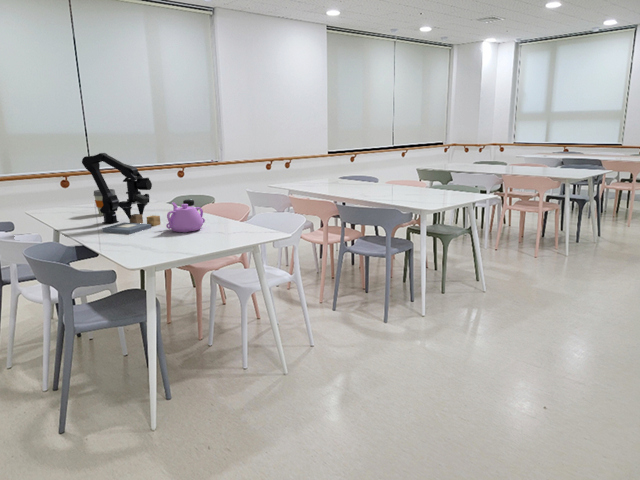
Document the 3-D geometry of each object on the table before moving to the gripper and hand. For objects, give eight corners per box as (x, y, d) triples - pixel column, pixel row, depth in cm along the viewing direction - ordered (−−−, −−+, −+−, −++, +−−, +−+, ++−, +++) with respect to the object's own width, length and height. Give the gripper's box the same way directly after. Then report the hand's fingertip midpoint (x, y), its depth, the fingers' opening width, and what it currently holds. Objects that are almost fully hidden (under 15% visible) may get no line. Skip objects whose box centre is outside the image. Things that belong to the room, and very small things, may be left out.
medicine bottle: (193, 221, 281) (191, 200, 279) (181, 221, 283) (179, 200, 280) (198, 219, 288) (196, 198, 286) (187, 218, 290) (185, 198, 287)
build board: (102, 231, 257) (102, 227, 257) (124, 225, 272) (124, 221, 271) (130, 234, 251) (129, 229, 250) (151, 227, 265) (150, 223, 265)
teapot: (192, 223, 275) (190, 199, 272) (213, 229, 260) (211, 203, 257) (155, 230, 260) (152, 204, 257) (175, 236, 245) (173, 208, 242)
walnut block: (129, 224, 277) (128, 215, 276) (136, 222, 282) (135, 213, 281) (136, 224, 276) (136, 215, 274) (143, 223, 280) (142, 214, 279)
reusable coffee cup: (110, 211, 319) (107, 188, 315) (121, 213, 312) (119, 189, 308) (92, 214, 309) (89, 190, 305) (103, 216, 302) (100, 192, 298)
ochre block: (147, 225, 272) (146, 216, 271) (153, 224, 276) (152, 215, 275) (154, 226, 270) (153, 217, 269) (160, 224, 275) (159, 215, 273)
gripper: (132, 192, 263) (135, 221, 267) (155, 188, 280) (158, 215, 284) (116, 191, 267) (119, 220, 271) (140, 187, 284) (142, 214, 287)
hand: (135, 217), depth 278 cm, fingers open, 9 cm apart
